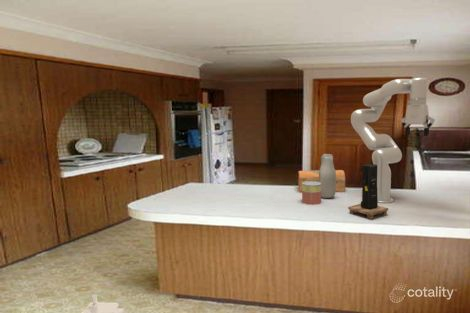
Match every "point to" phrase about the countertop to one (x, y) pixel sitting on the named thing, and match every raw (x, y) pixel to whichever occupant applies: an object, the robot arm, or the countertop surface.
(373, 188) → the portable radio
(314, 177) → the wooden box
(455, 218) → the countertop surface
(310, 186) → the canned food
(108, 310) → the bracket
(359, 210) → the stand
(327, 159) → the grey bottle
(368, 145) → the robot arm
